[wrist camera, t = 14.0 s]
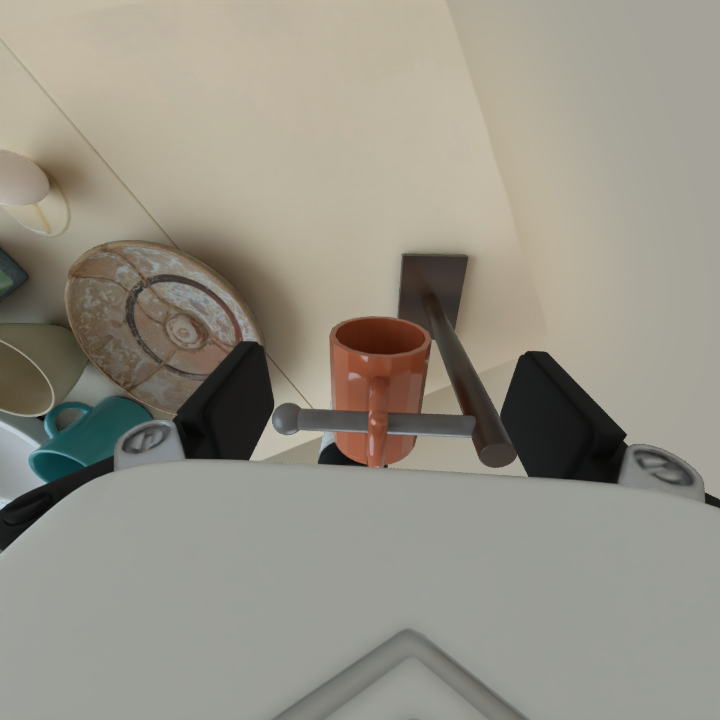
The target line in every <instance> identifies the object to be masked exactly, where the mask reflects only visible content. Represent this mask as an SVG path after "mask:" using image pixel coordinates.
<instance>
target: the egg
mask: <svg viewBox="0 0 720 720" xmlns="http://www.w3.org/2000/svg"><path fill="white" fill-rule="evenodd" d="M49 188H50V184H49V181H48V178H47V176H46V175H45V173H44V172H43V171H42V170H41V169H40V168H39V167H38V166H37V165H35V164H34V163H33V162H31V161H30V160H28V159H26V158H24V157H23V156H20V155H18V154H16V153H13V152H10V151H7V150H2V149H0V204H5V205H30V204H34V203H37V202H39V201H41V200H42V199H44V198H45V197H46V196H47V194H48V192H49Z"/></svg>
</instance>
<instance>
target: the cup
mask: <svg viewBox="0 0 720 720" xmlns="http://www.w3.org/2000/svg"><path fill="white" fill-rule="evenodd" d="M65 409H77V410H80V411H82V412H83V414H82V415H81V416H79V417H78V418H77V419H76V420H74V421H73V422H72V423H70V424H69V425H68V426H66V427H65V428H64V429H62V430H61V431H59V430H58V429H57V427H56V423H55V421H56V417H57V415H58V414H59V413H60V412H61V411H63V410H65ZM151 420H153V419H152V417H151V416H150V414H149V413H148V412H147V411H146V410H145V409H144V408H143V407H142V406H140V405H139V404H137V403H135V402H133V401H131V400H128V399H125V398H120V397H109V398H105V399H103V400H101V401H99V402H98V403H97V404H95V405H94V406H93V407H91V406H89V405H87V404H85V403H81V402H65V403H62V404H59V405H57V406H55V407H54V408H53V409H52V410H51V411H49V412H48V413H47V415H46V417H45V419H44V429H45V431H46V433H47V435H48V436H49V440H48V441H46V442H45V443H44V444H43V445H41V446H40V447H39V448H37V449H36V450H35V451H33V452H32V453H31V454H30V456H29V458H28V463H29V466H30V468H31V469H32V471H33V472H34V473H35V474H36V475H37V476H38V477H39V478H40V479H41V480H43V481H44V482H46V483H49V482H52V481H54V480H56V479H59V478H61V477H64V476H66V475H68V474H71V473H73V472H75V471H78V470H80V469H82V468H85V467H87V466H89V465H92V464H94V463H96V462H99V461H101V460H103V459H106V458H108V457H111V456H113V455H114V447H115V444H116V442H117V441H118V439H119V438H120V437H121V436H122V435H123V434H124V433H126V432H127V431H128V430H130V429H132V428H133V427H135V426H137V425H139V424H142V423H144V422H147V421H151Z"/></svg>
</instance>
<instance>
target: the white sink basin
mask: <svg viewBox="0 0 720 720" xmlns="http://www.w3.org/2000/svg"><path fill="white" fill-rule="evenodd" d="M48 440H49V436H48V435H47V433H46V431H45V429H44V422H43V421H41V420H40V419H38V418H36V417H24V416H17V415H13V414H9V413H6V412H3V411H0V502H2V503H6V504H8V503H10V502H12V501H13V500H14V499H16V498H17V497H19V496H21V495H23V494H25V493H27V492H29V491H31V490H33V489H35V488H38V487H40V486H42V485H45V484H47V483H46V482H44V481H43V480H41V479H40V478H39V477H38V476H37V475H36V474H35V473H34V472H33V471H32V469H31V468H30V466H29V463H28V458H29V456H30V454H31V453H32V452H33V451H35V450H36V449H37V448H39V447H40V446H41V445H43V444H44V443H45V442H46V441H48Z"/></svg>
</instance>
